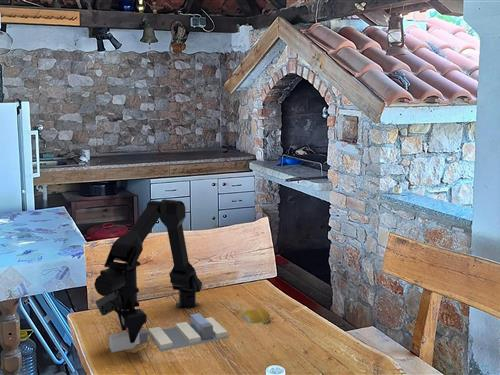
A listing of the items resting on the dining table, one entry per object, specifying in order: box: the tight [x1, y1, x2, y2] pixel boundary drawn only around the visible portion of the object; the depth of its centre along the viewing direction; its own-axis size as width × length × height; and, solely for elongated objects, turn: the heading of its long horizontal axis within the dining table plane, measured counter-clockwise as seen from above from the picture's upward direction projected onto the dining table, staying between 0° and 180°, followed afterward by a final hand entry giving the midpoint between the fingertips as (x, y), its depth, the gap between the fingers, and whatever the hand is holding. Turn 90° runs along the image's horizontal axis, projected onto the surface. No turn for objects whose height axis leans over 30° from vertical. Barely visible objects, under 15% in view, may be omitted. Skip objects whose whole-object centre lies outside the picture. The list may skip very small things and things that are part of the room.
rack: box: [147, 316, 230, 353], centre depth 169 cm, size 14×21×2 cm, turn 117°
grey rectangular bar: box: [189, 312, 213, 340], centre depth 170 cm, size 10×3×4 cm, turn 27°
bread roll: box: [241, 307, 271, 324], centre depth 183 cm, size 8×9×4 cm
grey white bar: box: [108, 327, 149, 353], centre depth 163 cm, size 10×3×4 cm, turn 117°
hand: (128, 336), depth 163 cm, fingers open, 9 cm apart
